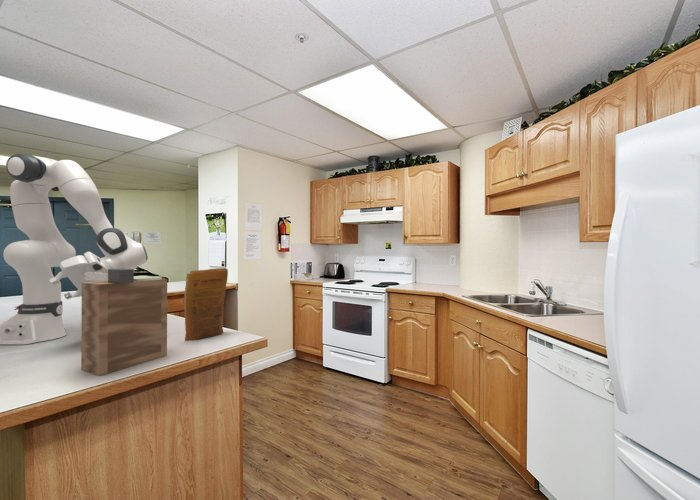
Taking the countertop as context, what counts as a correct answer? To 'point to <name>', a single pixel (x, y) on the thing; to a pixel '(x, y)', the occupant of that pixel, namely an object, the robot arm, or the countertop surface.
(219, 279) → the pancake mix bag
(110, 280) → the grey metal bar
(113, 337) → the brown wooden box
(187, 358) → the countertop surface
